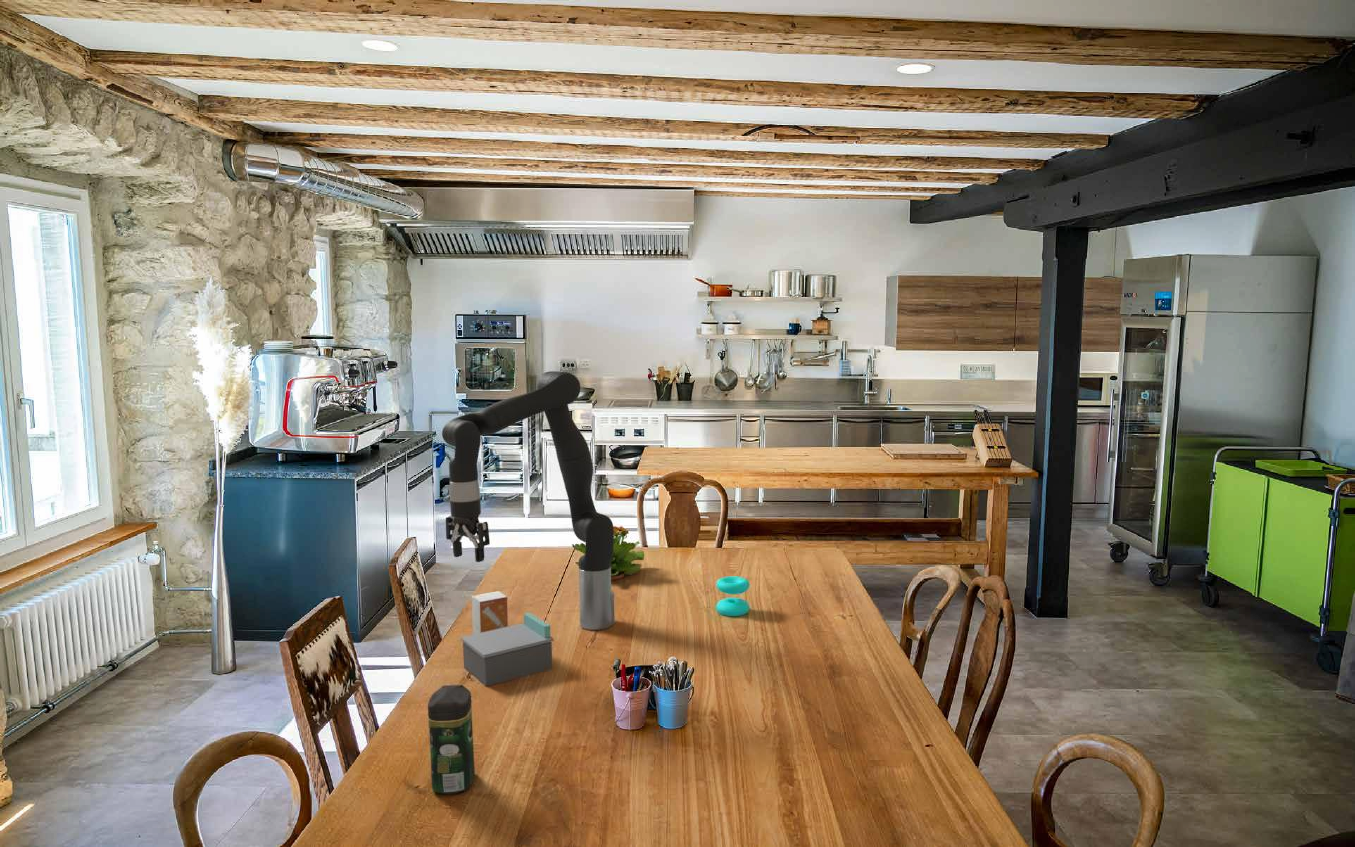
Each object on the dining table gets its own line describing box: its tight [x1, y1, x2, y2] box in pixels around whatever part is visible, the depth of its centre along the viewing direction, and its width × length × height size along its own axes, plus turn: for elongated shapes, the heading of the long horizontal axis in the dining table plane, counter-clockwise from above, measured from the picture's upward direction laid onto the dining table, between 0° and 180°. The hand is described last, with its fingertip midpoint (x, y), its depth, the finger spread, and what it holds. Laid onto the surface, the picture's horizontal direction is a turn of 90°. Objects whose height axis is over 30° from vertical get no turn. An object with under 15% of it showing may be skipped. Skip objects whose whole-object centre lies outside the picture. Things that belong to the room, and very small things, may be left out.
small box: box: [471, 590, 509, 635], centre depth 242 cm, size 8×6×13 cm
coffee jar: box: [427, 684, 476, 795], centre depth 168 cm, size 10×8×19 cm
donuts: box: [715, 575, 751, 617], centre depth 265 cm, size 10×10×10 cm
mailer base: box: [462, 641, 553, 687], centre depth 224 cm, size 18×14×7 cm
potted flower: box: [571, 525, 645, 581], centre depth 300 cm, size 25×24×18 cm
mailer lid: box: [460, 612, 554, 658], centre depth 223 cm, size 19×15×4 cm
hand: (468, 558), depth 227 cm, fingers open, 8 cm apart
